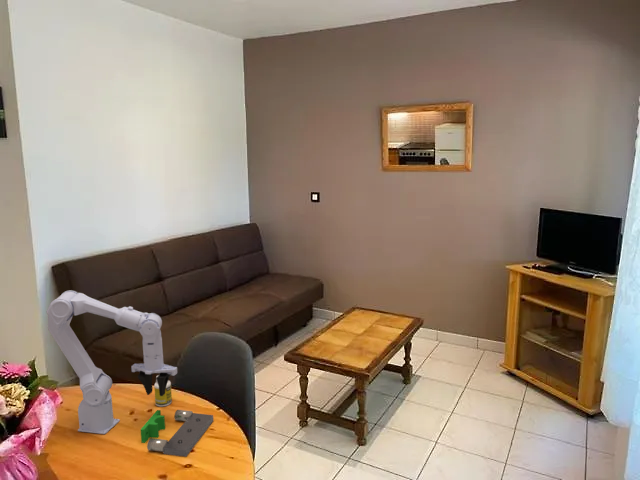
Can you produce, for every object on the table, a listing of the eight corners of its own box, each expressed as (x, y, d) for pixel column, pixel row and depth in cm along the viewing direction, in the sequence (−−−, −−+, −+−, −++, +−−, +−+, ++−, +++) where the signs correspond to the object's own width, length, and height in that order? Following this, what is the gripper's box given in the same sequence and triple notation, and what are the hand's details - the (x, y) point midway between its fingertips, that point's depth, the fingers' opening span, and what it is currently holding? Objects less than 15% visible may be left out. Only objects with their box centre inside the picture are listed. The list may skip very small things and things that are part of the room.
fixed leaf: (147, 452, 141) (146, 442, 140) (179, 416, 160) (178, 407, 159) (185, 457, 139) (185, 446, 138) (213, 420, 157) (213, 411, 157)
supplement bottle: (169, 407, 166) (167, 380, 164) (153, 407, 166) (151, 380, 164) (174, 399, 171) (172, 372, 169) (158, 399, 171) (156, 372, 169)
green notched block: (153, 444, 145) (152, 430, 144) (141, 443, 146) (140, 429, 145) (169, 423, 156) (168, 410, 155) (158, 422, 157) (157, 409, 156)
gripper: (124, 356, 151) (128, 398, 153) (168, 360, 148) (171, 402, 150) (137, 347, 157) (140, 387, 160) (179, 351, 155) (181, 391, 157)
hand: (156, 394), depth 155 cm, fingers open, 4 cm apart
